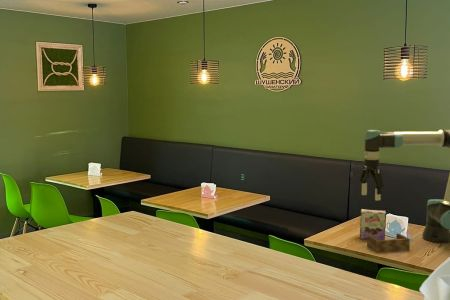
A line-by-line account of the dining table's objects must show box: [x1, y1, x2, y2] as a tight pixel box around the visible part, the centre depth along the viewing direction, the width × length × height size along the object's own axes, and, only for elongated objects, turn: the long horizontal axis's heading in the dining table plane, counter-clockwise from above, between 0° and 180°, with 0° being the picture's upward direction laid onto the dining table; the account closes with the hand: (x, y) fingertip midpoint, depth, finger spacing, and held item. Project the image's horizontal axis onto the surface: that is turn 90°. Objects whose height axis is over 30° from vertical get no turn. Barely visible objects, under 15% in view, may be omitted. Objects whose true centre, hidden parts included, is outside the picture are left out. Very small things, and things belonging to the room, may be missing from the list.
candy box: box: [359, 208, 387, 240], centre depth 263 cm, size 14×6×16 cm, turn 71°
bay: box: [366, 232, 411, 253], centre depth 247 cm, size 19×10×6 cm, turn 101°
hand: (370, 197), depth 248 cm, fingers open, 13 cm apart
